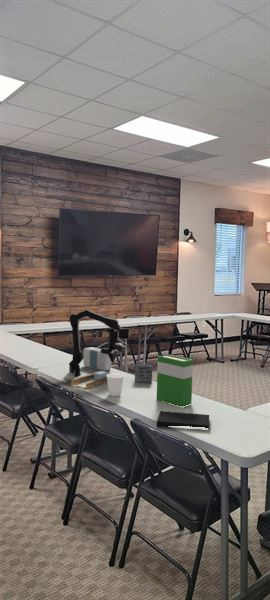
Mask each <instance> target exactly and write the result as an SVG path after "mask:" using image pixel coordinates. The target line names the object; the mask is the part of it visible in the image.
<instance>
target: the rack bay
mask: <svg viewBox="0 0 270 600" xmlns="http://www.w3.org/2000/svg"><path fill="white" fill-rule="evenodd" d="M94 373H95V372H94ZM94 373H90V374H86V375H84V376H78V377H76V378H74V379H72V380H71V383H69V386H72V387H76V388H81V389H84V388H85V390H88V388H89V389H92V388H93V387H94V386H95V387H98V386H100V384H101V385H103V384H108V381H107V377H104V378H101V379H98V380H94ZM91 379H92V381H91ZM87 381H88V382H87ZM81 382H82V383H84V382H85V386H81V385H78V383H79V384H82V383H81ZM75 384H76V385H75ZM97 385H98V386H97ZM91 387H92V388H91ZM95 387H94V388H95Z"/></svg>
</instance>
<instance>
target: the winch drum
mask: <svg viewBox="0 0 270 600" xmlns="http://www.w3.org/2000/svg"><path fill="white" fill-rule="evenodd" d="M74 375H76V374H75V371H74V374H73V373H69V372H68V373H66V375H65V376H66V377H65V378H66V379H65V380H66V381H65V382H66V383H67V384H71V380H72V379H75V376H74Z"/></svg>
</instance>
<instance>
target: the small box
mask: <svg viewBox="0 0 270 600" xmlns="http://www.w3.org/2000/svg"><path fill="white" fill-rule="evenodd" d="M152 382H153V364H139V363H138V364H137V363H136V364H135V365H134V383H135V384H152ZM134 383H133V384H134Z"/></svg>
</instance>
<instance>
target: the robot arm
mask: <svg viewBox="0 0 270 600" xmlns="http://www.w3.org/2000/svg"><path fill="white" fill-rule="evenodd" d="M86 317H87V318H90V319H93V320H95V321H97V322H100V323H102V324H104V325H105V326H107V327H108V328H107V329H106V330H105V331H106V332H107V333H108V339H107V342H108V346H107V347H103V348H100V349H101V353H103V354H108V356H109V358H110V360H111V364H113V363H114V362H115V361H116V357H117V355H118V354H120V353H122V352H124V351H125V350H126V349H127V343H126V342H123V343H121V342H120V340H130V328H122V327H121V325H120V324H119V321H118V319H116V318H114V317H108V316H107V317H106V316H104V315H102V314H98V313H97V312H94V311H91V310H89V309H85V310H84V311H81V312H78V313H76V312H74V313H72V314H70V315H69V319H68V320H69V325H70V326H71V329H72V332H71V333H72V342H73V353H72V360H71V361H70V362H69V363H68V365H69V366H68V369H69V371H68V373H73V374H74V371H75V374H76V375H74V377H79V376H81V375H82V373H81V366H80V364H81V363H82V361H83V358H84V356H83V353H84V350H82V349H81V339H80V329H79V328H80V321H81V319H83V318H86ZM118 338H120V340H119V339H118ZM107 342H106V343H107Z"/></svg>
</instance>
